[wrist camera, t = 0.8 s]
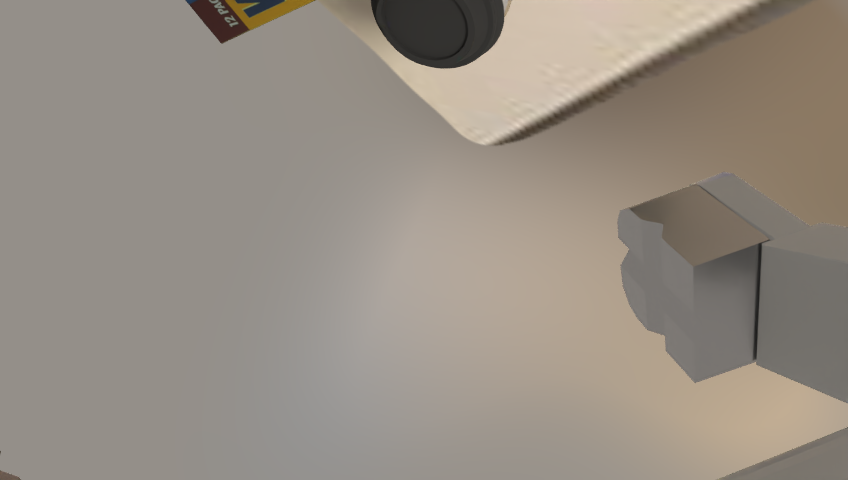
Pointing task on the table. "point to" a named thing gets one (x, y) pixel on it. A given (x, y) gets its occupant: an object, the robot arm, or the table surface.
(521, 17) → the table surface
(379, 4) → the coffee cup
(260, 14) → the protein box
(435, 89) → the table surface
